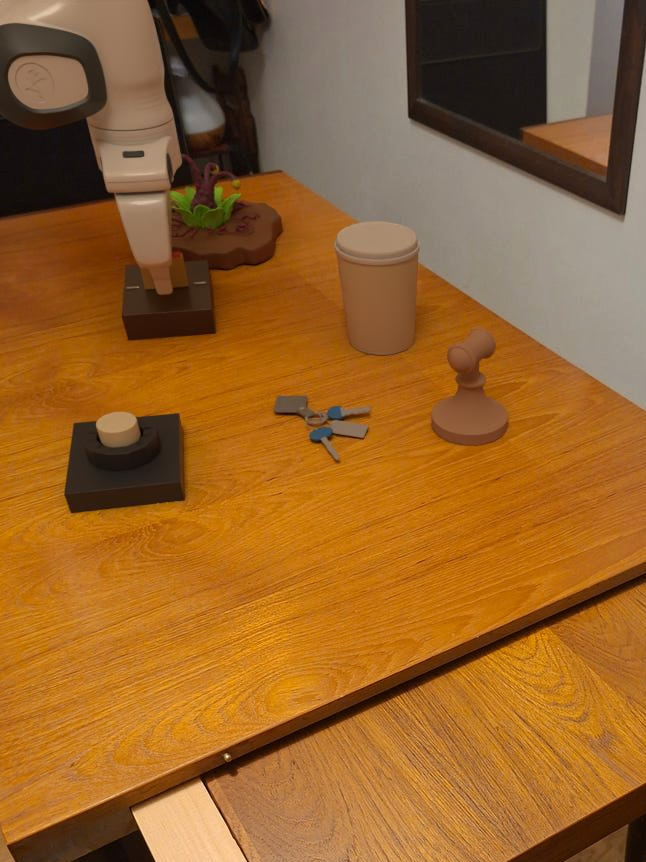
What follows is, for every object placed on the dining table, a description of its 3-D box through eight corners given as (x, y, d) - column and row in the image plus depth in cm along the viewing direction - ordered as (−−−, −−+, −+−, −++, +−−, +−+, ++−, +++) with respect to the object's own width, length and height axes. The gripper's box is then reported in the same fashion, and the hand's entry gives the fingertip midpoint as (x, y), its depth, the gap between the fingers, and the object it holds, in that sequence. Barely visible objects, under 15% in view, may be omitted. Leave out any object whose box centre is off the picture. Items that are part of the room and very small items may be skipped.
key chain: (262, 405, 95) (261, 398, 94) (328, 381, 99) (327, 374, 98) (336, 465, 88) (335, 458, 87) (404, 437, 92) (403, 430, 91)
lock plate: (127, 340, 104) (121, 314, 102) (131, 288, 114) (125, 263, 112) (216, 333, 106) (211, 307, 104) (212, 283, 116) (207, 258, 114)
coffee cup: (434, 332, 108) (434, 230, 100) (397, 366, 102) (393, 260, 94) (367, 315, 111) (361, 214, 102) (327, 347, 105) (317, 242, 96)
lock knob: (145, 289, 107) (137, 258, 104) (145, 284, 108) (137, 253, 105) (188, 286, 108) (182, 255, 105) (188, 281, 109) (181, 250, 106)
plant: (156, 211, 132) (138, 127, 124) (289, 216, 132) (280, 132, 125) (117, 267, 118) (94, 176, 110) (266, 273, 118) (253, 182, 110)
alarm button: (99, 450, 82) (94, 434, 81) (101, 429, 84) (96, 413, 83) (140, 446, 83) (136, 430, 82) (141, 425, 85) (137, 409, 84)
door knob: (527, 330, 88) (487, 363, 83) (521, 418, 95) (483, 453, 90) (458, 309, 91) (415, 340, 86) (456, 396, 98) (416, 430, 93)
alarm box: (71, 514, 81) (57, 477, 78) (79, 442, 89) (67, 406, 86) (184, 501, 83) (176, 464, 80) (183, 431, 91) (175, 396, 88)
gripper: (110, 120, 104) (139, 242, 113) (102, 182, 90) (135, 314, 100) (167, 118, 105) (191, 238, 115) (167, 178, 91) (194, 310, 101)
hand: (165, 274), depth 107 cm, fingers open, 8 cm apart
